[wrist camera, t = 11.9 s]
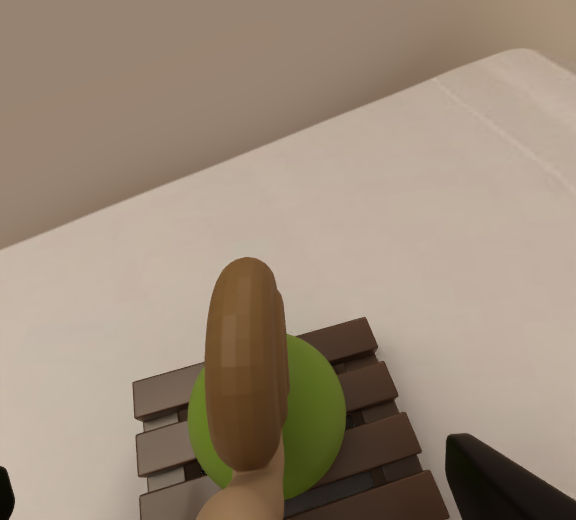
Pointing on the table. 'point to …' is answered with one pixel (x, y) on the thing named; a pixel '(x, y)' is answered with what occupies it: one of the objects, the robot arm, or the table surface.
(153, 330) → the table surface
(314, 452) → the snail figurine
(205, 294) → the table surface
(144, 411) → the rack
